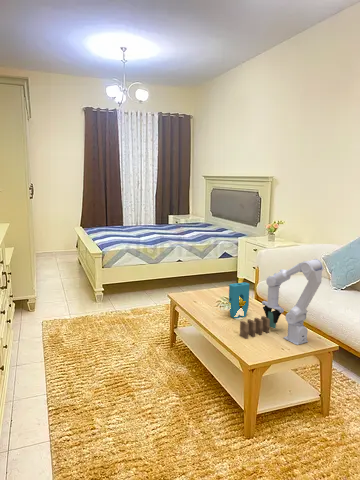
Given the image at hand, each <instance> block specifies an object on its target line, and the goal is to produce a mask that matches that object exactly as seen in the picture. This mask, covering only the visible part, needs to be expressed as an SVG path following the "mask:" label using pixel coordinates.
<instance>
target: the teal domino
mask: <svg viewBox="0 0 360 480" xmlns="http://www.w3.org/2000/svg"><path fill="white" fill-rule="evenodd" d="M268 318H269V319H270V326H269V328H272V329H277V323H274V322H273V313H272V311H268Z"/></svg>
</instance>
